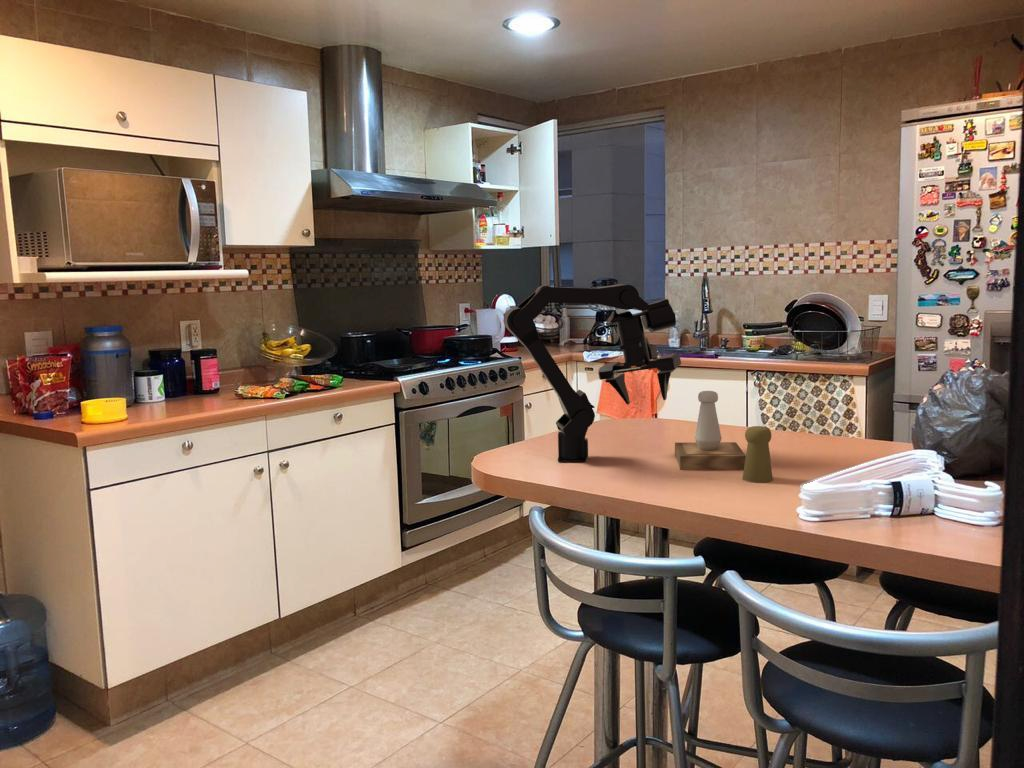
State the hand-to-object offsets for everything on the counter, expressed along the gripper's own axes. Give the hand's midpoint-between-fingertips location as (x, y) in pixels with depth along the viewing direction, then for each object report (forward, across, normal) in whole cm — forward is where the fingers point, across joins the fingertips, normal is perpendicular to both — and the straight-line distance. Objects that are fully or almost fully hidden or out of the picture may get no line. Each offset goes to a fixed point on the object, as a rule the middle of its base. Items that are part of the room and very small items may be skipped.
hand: (646, 401), depth 191 cm
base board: (+15, -13, +3) cm, 20 cm away
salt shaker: (+12, -13, +3) cm, 18 cm away
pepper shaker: (+16, -26, +14) cm, 34 cm away
